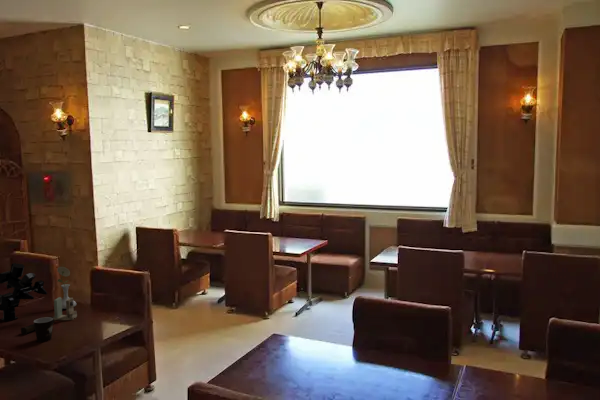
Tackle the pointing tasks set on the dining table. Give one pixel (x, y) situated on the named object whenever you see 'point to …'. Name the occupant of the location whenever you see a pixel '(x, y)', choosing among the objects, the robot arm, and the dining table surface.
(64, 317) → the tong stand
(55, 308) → the sliding jaw
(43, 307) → the dining table surface
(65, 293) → the flower in vase
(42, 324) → the coffee mug
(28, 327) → the hand tool
